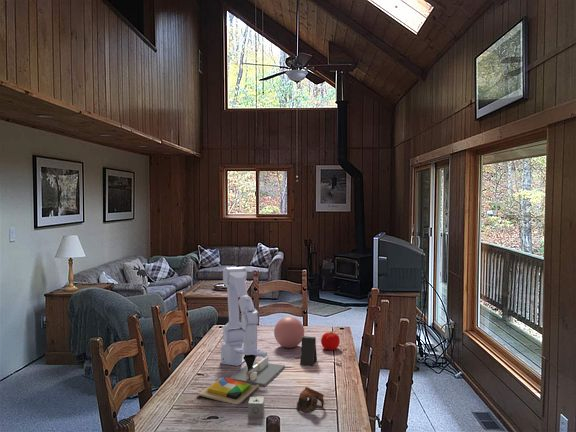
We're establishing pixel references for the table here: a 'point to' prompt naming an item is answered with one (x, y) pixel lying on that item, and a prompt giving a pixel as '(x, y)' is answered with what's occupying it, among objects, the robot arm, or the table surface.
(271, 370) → the hinge base
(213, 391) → the wooden puzzle
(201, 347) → the table surface
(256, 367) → the hinge leaf
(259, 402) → the dice cube
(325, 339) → the tomato
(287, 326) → the balloon
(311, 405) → the pottery mug
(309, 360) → the phone stand
